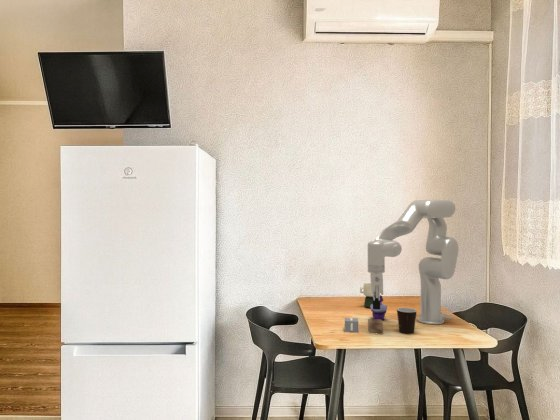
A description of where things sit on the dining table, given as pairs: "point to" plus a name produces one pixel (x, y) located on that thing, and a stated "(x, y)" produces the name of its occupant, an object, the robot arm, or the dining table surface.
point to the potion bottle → (379, 313)
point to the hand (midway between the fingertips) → (376, 308)
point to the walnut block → (375, 326)
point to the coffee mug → (406, 320)
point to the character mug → (367, 294)
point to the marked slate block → (351, 324)
